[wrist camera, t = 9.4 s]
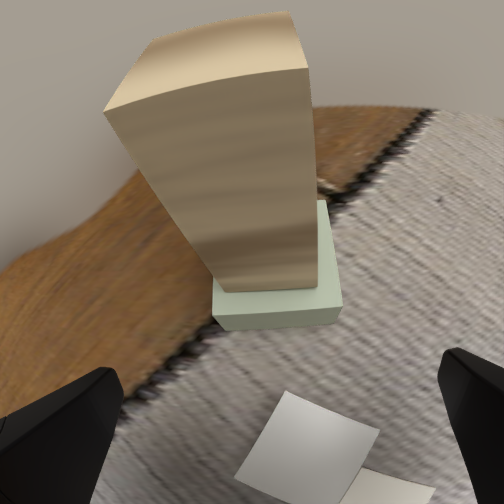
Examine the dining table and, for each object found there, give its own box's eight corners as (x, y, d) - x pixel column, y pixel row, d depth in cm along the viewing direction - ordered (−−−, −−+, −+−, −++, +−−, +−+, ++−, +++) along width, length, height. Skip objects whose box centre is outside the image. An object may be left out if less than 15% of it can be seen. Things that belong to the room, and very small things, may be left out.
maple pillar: (317, 286, 16) (308, 67, 6) (225, 292, 17) (102, 111, 6) (310, 209, 18) (288, 10, 8) (229, 217, 19) (153, 39, 9)
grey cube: (319, 490, 14) (328, 517, 10) (247, 459, 15) (233, 477, 11) (357, 423, 16) (380, 430, 11) (286, 393, 17) (285, 390, 13)
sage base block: (333, 324, 19) (342, 306, 16) (226, 331, 20) (212, 315, 16) (320, 232, 22) (325, 199, 19) (227, 239, 23) (215, 208, 20)
